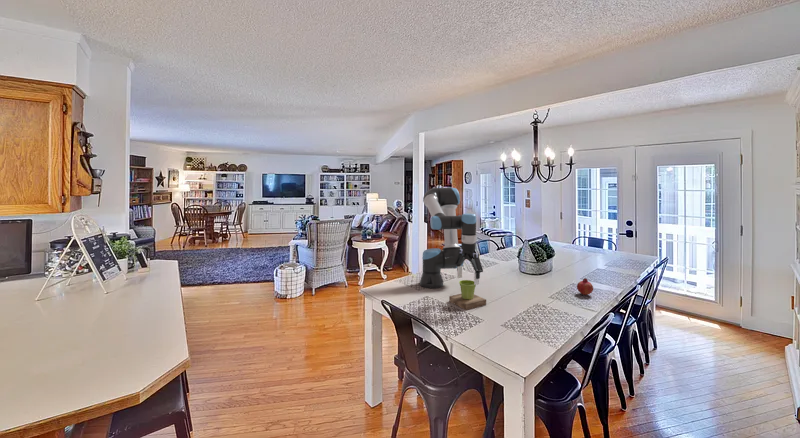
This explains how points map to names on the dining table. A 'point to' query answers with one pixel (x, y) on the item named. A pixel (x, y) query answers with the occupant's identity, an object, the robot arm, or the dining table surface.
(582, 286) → the fruit
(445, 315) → the dining table surface
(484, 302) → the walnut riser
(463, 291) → the plant pot
